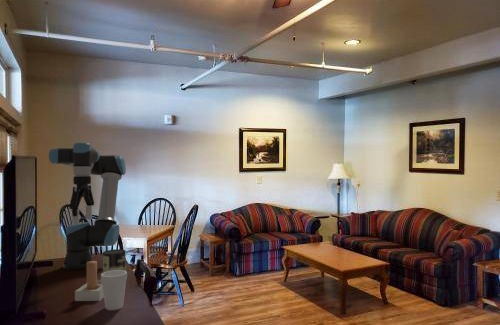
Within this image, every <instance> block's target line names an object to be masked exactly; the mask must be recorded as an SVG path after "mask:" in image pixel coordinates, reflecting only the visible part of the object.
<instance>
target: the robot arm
mask: <svg viewBox="0 0 500 325" xmlns="http://www.w3.org/2000/svg"><path fill="white" fill-rule="evenodd" d="M48 160H49V163H51V164H56V165H59V164H60V165H61V164H62V165H65V166H68V167H72V168H73V169H72V172H73V175H74V176H73V177H72V178H73V179H72V180H73V185H76V186H73V187H72V194H71V199H70V203H69V210H72V213H71V214H72V217H71V218H72V224H70V225H68V226H67V227H66V233H65V236H66V237H65V240H66V254H65V257H64V259H63V263H62V268H63V269H64V270H68V271H69V270H70V271H71V270H74V271H75V270H84V269H87V262H89V261H94V258H93V255H92V253H91V247H112V246H114V245H116V243H118V239H119V236H120V226H119V224H117V221H116V220H115V216H116V208H117V206H116V205H117V196H118V190H119V189H118V187H119V181H120V180H121V179H122V177H123V176H124V175H126V170H127V169H126V163H125V158H124V157H123V156H122V155H118V154H117V155H116V154H114V155H113V154H112V155H111V154H110V155H109V154H108V155H107V154H106V155H100V152H99V151H98V150H97V149H96V148H93V147H91V143H89V142H75V143H73V147H71V148H68V147H67V148H61V147H56V148H51V149H50V150H49V153H48ZM91 175H95V176H100V178H101V179H102V185H101V190H100V191H101V193H100V202H99V207H98V208H99V209H98V214H97V215H98V216H97V219H95V220H94V224H90V222H89V221H88V222H87V221H85V222H80V208H79V206H80V203H81V201H82V198H83V200H84V202H85V204H86V205H85V220H93V207H92V206H95V200H94V196H93V191H92V186H91V183H92V177H91Z"/></svg>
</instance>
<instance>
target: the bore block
mask: <svg viewBox="0 0 500 325" xmlns="http://www.w3.org/2000/svg"><path fill="white" fill-rule="evenodd" d="M103 299H104V295H103V288H102V282H101V278H99V279H98V278H97V289H96V290H87V282H86V283H85V284H83V285H82V286H80V287H78V289H76V290H74V301H75V302H101V300H103Z"/></svg>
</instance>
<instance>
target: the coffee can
mask: <svg viewBox="0 0 500 325" xmlns="http://www.w3.org/2000/svg"><path fill="white" fill-rule="evenodd" d="M126 252H127V251H126V250H125V249H122V248H121V249H119V248H118V249H117V248H116V249H115V248H114V249H108V250H104V251H103V252H102V273H104V272H107V271H112V270H124V271H126V272H127V270H126V269H127V267H126V266H127V265H126V263H127V262H126V260H127V259H126V256H127V255H126Z"/></svg>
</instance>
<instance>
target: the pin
mask: <svg viewBox="0 0 500 325" xmlns="http://www.w3.org/2000/svg"><path fill="white" fill-rule="evenodd" d="M97 279H98V261H97V260H93V261H89V262H87V268H86V283H87V290H96V289H97Z"/></svg>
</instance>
